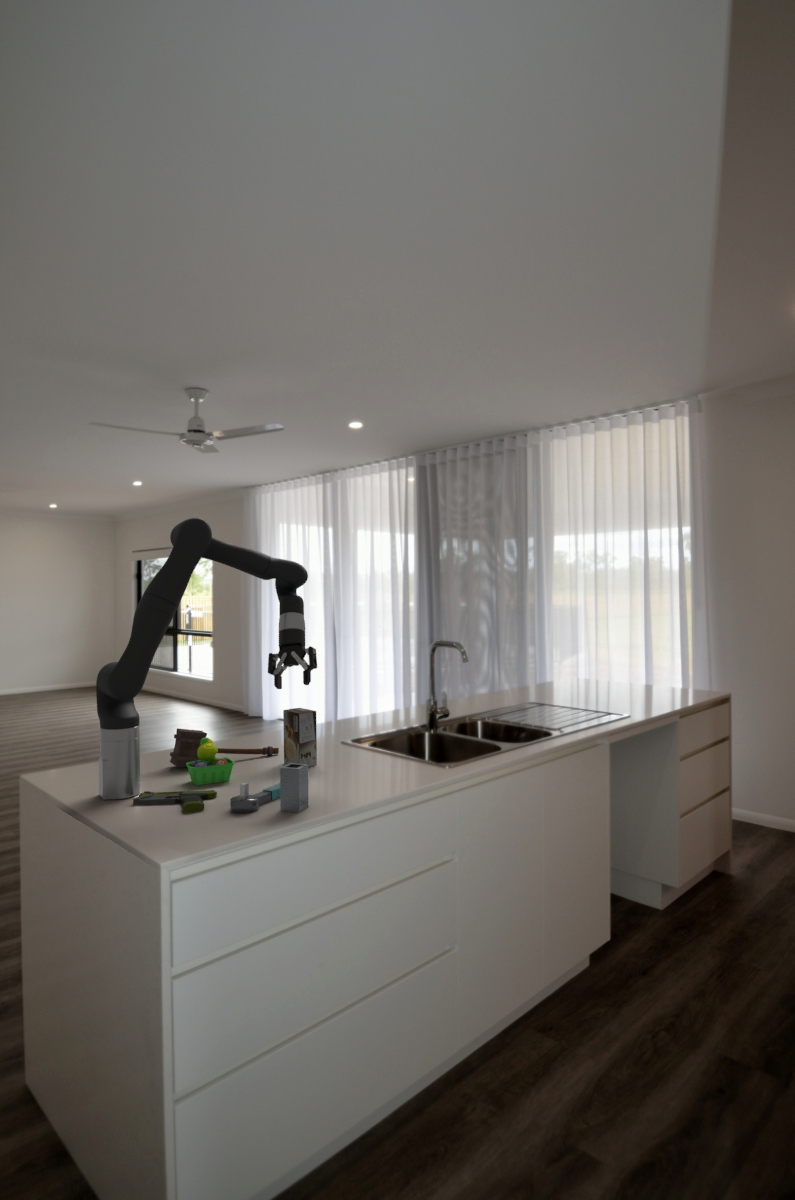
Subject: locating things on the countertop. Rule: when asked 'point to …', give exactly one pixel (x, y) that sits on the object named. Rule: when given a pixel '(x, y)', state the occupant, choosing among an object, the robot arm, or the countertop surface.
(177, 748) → the hammer
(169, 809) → the countertop surface
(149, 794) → the gun
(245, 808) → the ratchet
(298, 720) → the coffee box
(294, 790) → the grey hollow square tube
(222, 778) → the fruit basket
